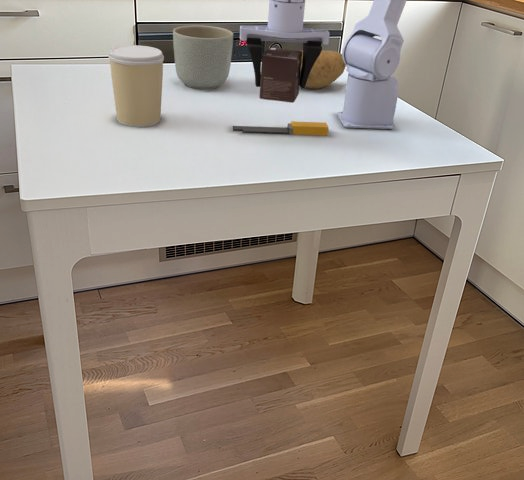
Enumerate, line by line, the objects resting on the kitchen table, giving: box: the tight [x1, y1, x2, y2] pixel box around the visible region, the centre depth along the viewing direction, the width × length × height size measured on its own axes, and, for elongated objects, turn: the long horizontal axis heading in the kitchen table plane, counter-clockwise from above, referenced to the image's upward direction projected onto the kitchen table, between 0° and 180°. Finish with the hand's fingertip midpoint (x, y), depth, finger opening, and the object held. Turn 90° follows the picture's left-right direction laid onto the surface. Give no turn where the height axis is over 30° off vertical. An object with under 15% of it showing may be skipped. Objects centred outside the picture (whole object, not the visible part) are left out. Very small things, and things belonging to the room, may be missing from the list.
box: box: [258, 47, 303, 103], centre depth 108 cm, size 6×6×7 cm
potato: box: [301, 49, 347, 90], centre depth 140 cm, size 10×14×8 cm
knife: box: [232, 121, 330, 137], centre depth 116 cm, size 17×3×2 cm, turn 96°
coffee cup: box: [108, 44, 165, 128], centre depth 113 cm, size 9×9×12 cm
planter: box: [172, 24, 234, 90], centre depth 135 cm, size 12×12×11 cm
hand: (280, 86), depth 109 cm, fingers closed on box, 7 cm apart
